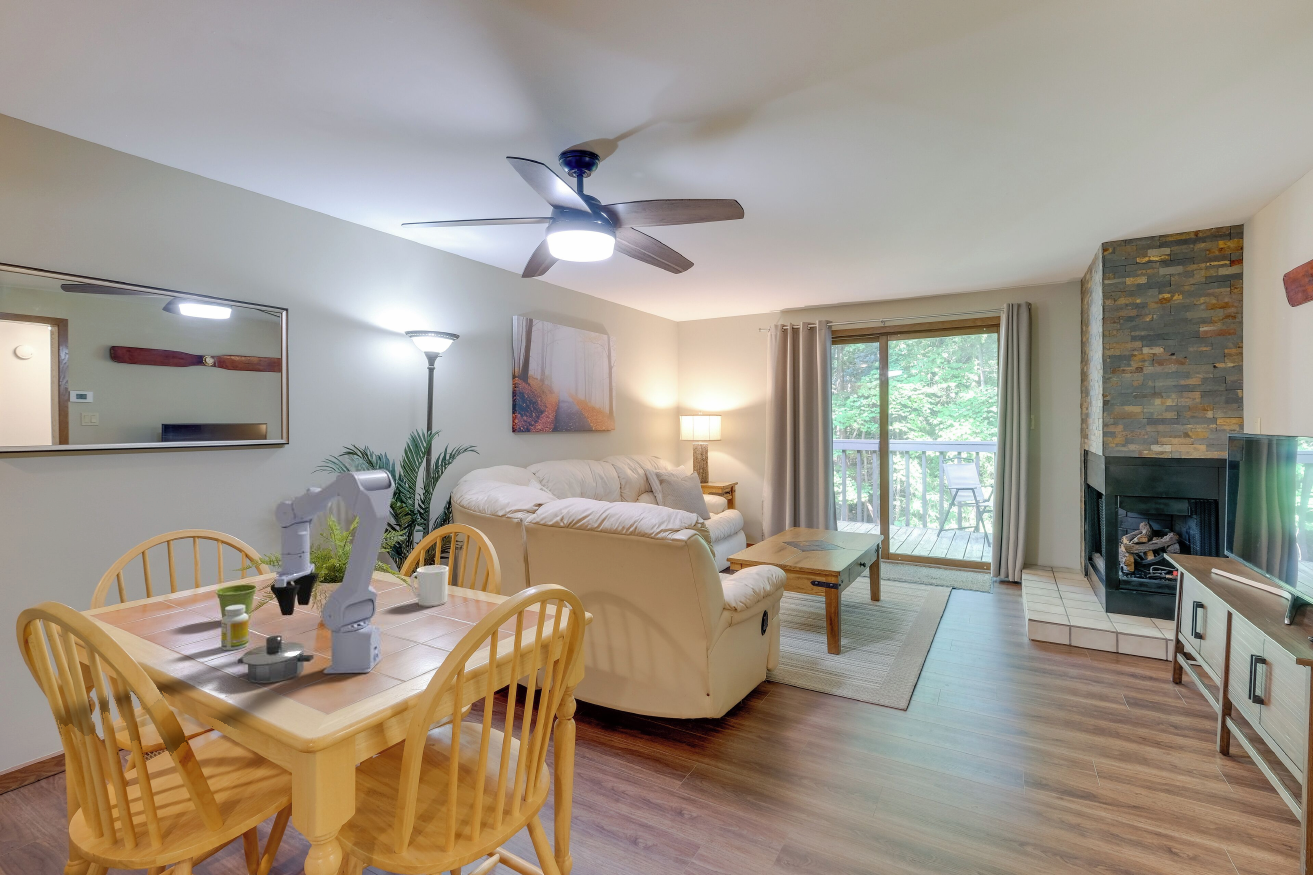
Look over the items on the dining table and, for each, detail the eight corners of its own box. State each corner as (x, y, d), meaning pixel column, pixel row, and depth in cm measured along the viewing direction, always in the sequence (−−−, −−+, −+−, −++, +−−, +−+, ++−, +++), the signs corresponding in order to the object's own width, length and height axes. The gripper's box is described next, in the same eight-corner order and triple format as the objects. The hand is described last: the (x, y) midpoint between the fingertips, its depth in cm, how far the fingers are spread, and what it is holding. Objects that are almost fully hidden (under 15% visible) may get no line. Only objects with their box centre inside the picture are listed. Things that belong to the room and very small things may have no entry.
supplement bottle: (216, 651, 144) (216, 610, 144) (229, 642, 149) (229, 603, 149) (240, 650, 144) (240, 610, 144) (253, 642, 150) (253, 603, 149)
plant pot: (262, 613, 172) (261, 583, 171) (251, 624, 163) (251, 591, 162) (222, 616, 169) (222, 585, 168) (209, 627, 160) (209, 594, 159)
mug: (441, 597, 190) (441, 563, 189) (453, 603, 183) (453, 569, 183) (404, 603, 182) (404, 569, 182) (416, 610, 176) (416, 575, 175)
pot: (322, 663, 137) (322, 645, 137) (300, 682, 127) (300, 663, 127) (253, 665, 136) (253, 647, 135) (225, 684, 126) (225, 665, 126)
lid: (314, 650, 137) (314, 629, 137) (284, 670, 125) (284, 647, 125) (264, 649, 137) (264, 628, 137) (229, 670, 126) (229, 646, 125)
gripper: (293, 545, 150) (293, 600, 150) (260, 558, 135) (260, 619, 136) (323, 545, 151) (323, 600, 151) (293, 558, 136) (293, 619, 136)
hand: (295, 609), depth 143 cm, fingers open, 7 cm apart
